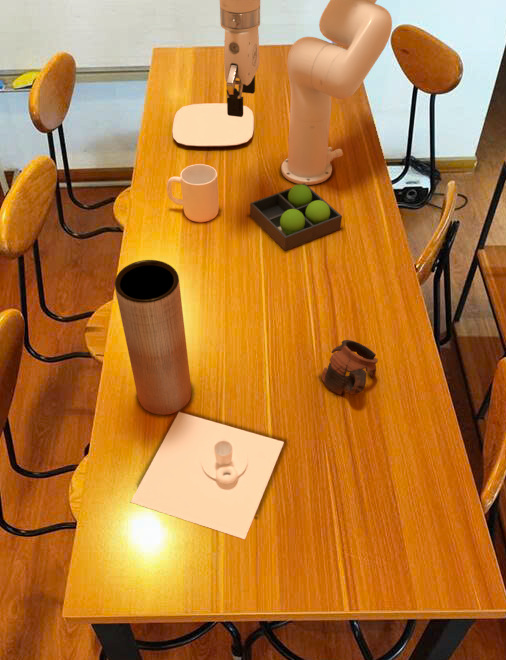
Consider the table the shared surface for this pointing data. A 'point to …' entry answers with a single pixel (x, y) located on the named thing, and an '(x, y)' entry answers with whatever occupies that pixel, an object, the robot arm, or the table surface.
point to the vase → (155, 334)
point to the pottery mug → (349, 368)
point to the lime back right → (317, 212)
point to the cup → (197, 192)
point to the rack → (276, 204)
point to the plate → (212, 126)
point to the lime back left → (299, 195)
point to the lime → (292, 221)
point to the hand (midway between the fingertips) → (241, 103)
